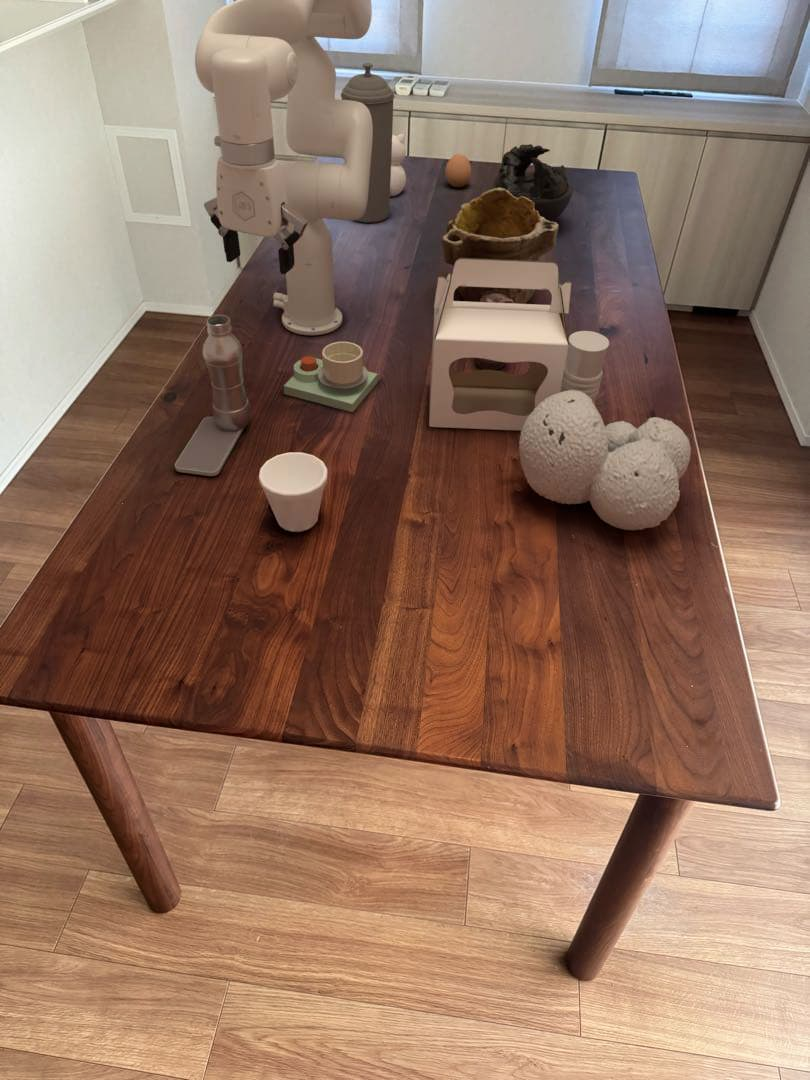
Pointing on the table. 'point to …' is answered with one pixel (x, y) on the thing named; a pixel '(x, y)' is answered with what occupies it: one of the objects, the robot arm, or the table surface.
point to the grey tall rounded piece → (226, 375)
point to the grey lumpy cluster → (603, 461)
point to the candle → (585, 363)
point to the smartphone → (207, 449)
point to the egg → (458, 170)
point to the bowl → (342, 362)
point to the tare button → (308, 363)
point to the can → (493, 298)
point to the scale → (327, 389)
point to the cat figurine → (397, 165)
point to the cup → (294, 489)
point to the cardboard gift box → (496, 345)
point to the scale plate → (342, 386)
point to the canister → (375, 138)
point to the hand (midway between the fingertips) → (260, 264)
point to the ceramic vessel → (498, 236)
